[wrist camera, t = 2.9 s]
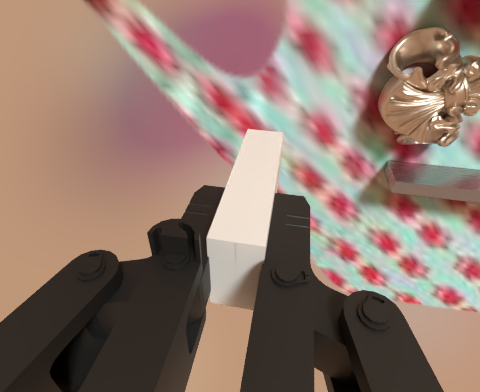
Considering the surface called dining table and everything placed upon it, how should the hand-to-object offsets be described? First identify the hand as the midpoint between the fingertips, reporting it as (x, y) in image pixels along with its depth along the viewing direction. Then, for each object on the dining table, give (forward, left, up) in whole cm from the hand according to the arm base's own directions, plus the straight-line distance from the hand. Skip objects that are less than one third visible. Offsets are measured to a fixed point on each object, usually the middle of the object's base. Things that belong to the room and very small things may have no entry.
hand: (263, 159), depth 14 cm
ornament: (+6, +8, -12) cm, 16 cm away
